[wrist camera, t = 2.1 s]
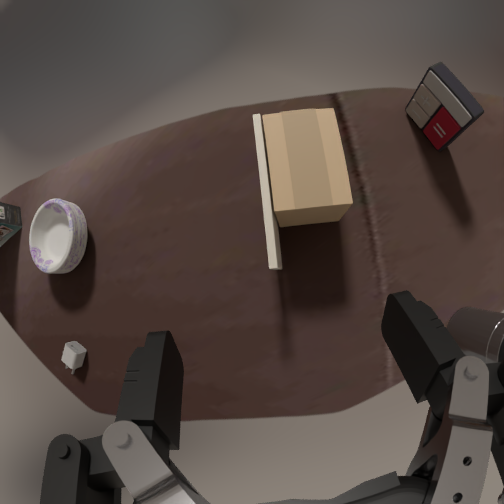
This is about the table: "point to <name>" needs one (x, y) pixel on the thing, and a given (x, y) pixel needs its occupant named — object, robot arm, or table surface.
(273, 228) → the flap
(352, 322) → the table surface
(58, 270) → the paper bowls
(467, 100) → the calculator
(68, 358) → the usb wall charger
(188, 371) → the table surface
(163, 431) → the robot arm
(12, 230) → the cake mix box
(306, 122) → the carton
